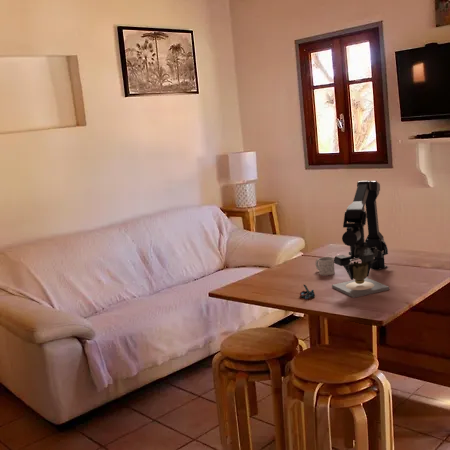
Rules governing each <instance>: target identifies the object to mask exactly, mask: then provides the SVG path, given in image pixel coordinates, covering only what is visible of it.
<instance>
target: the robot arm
mask: <svg viewBox="0 0 450 450" xmlns="http://www.w3.org/2000/svg"><path fill="white" fill-rule="evenodd" d="M380 191H381V183H380V182H379V181H377V180H359V181H357V183H356V190H355V194H354V197H353V201H352V203H350V204H349V205H348V206H347V208H346V209H345V210H346V211H344V215H343V216H344V217H343V223H342V224H343V225H342V226H343V227H342V228H346V231H345V232H344V233H343V234H342V237H341V241H342V242H343V244H344V245H346V246H348V247H349V250H350V251H349V252H348V255H349V256H347V255H345V254H339V255H336V256H334V257H333V258H334V265H337V266H341V267H343V268H344V269H345V272H346V273H347V275H348V277H349V279H350V281H352V280H354V279H353V269H352V267H353V265H354V264H351V263H352V262H354V261H356V260H360V261H361V262H366V263H368V275H367V277H366V278H368V277H369V275H370V271H371V270H374V271H379V270H381V269H386V268H388V267H389V266H387V265H385V256H386V255H389V250H388V246H387V243H386V241H385V239H384V235H383V234H382V233H381V232H380V227H379V226H380V225H379V219H378V217H379V216H378V208H377V198H378V197H379V194H380ZM366 224H367V232H368V235H367V236H366V237H365V228H364V227H365V225H366Z"/></svg>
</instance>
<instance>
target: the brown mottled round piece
mask: <svg viewBox="0 0 450 450" xmlns="http://www.w3.org/2000/svg"><path fill="white" fill-rule="evenodd" d="M351 264H354V265H353V267H352V269H353V280H355V282H356V283H357V284H362V283H364V279H365V278H368V277H367V275H368V263H366V262H362V261H361V262H359V261H357V262H356V261H353V262H351ZM368 276H369V275H368Z"/></svg>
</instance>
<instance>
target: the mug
mask: <svg viewBox="0 0 450 450" xmlns="http://www.w3.org/2000/svg"><path fill="white" fill-rule="evenodd" d="M334 258H335V257H332V256H331V257H330V256H323V257H319V258H318V259H316V260H315V267H316V270H318V273H319V274H318V275H320V276H322V277H323V276H324V277H325V276H328V275H329V276H333V275H335V273H336V271H335V270H336V269H335V263H334Z"/></svg>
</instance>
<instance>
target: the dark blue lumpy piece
mask: <svg viewBox="0 0 450 450" xmlns="http://www.w3.org/2000/svg"><path fill="white" fill-rule="evenodd" d="M302 286H303V287H304V289H305V290H302V291H301V292H300V293H299V297H298V299H299V300H302V301H308V300H312V299H313V298H315V297H316V295H315V291H314V289H311V291H310V290H309V288H308V287H307V285H306V284H303V285H302Z"/></svg>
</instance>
